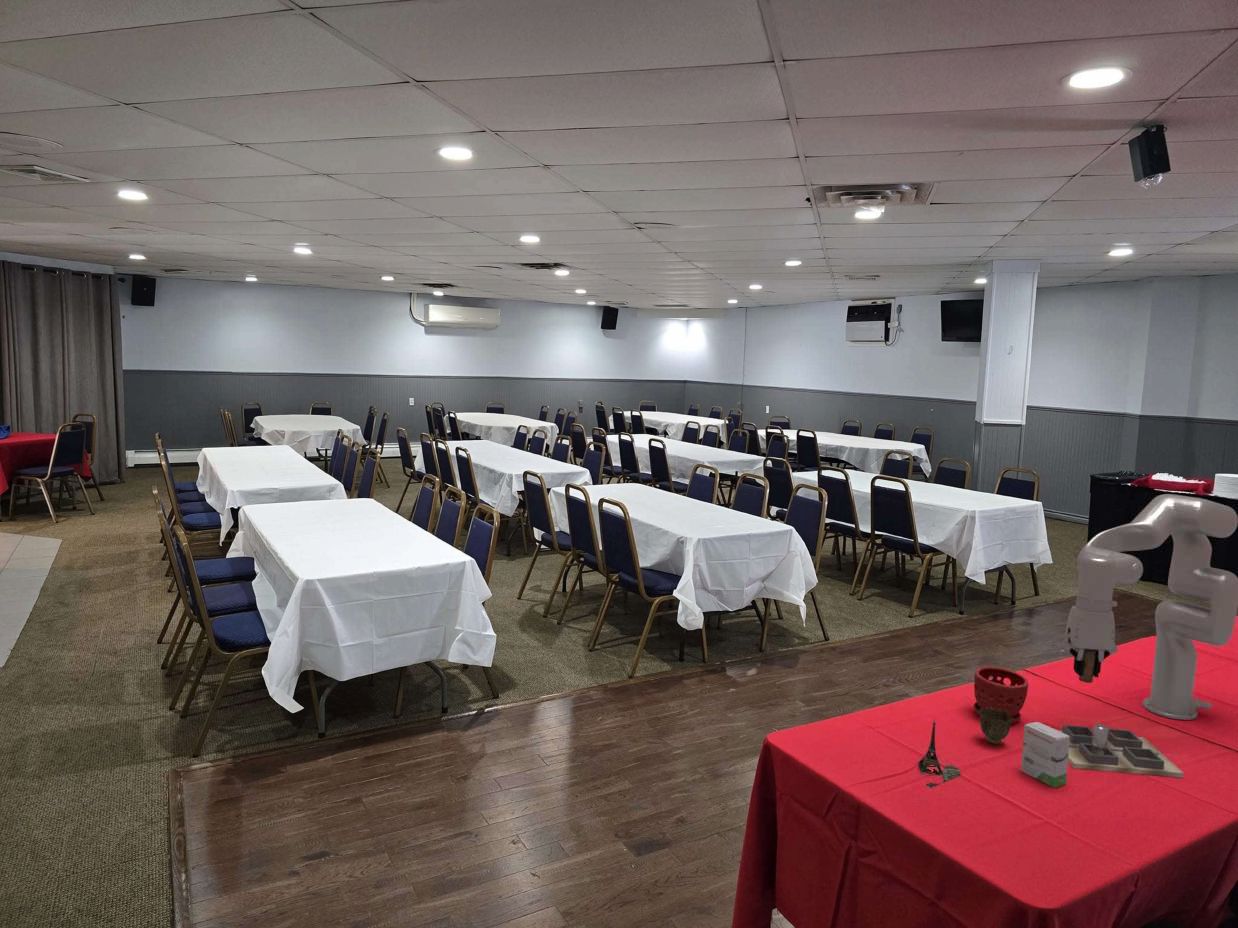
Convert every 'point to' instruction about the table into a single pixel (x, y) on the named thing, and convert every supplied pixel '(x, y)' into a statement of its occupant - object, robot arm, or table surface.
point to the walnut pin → (1088, 665)
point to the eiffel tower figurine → (936, 763)
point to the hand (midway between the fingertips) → (1086, 673)
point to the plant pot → (1000, 691)
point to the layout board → (1116, 752)
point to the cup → (995, 724)
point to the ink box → (1045, 754)
